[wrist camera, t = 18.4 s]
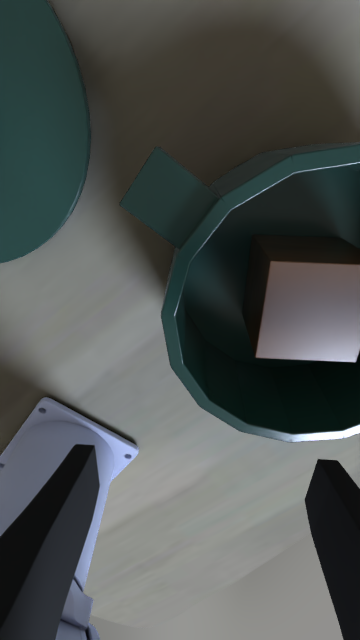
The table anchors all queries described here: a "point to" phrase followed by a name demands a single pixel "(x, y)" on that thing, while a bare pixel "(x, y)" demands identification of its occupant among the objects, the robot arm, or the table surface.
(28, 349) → the table surface
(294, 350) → the block
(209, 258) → the pot
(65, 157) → the lid
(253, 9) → the table surface
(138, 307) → the table surface
